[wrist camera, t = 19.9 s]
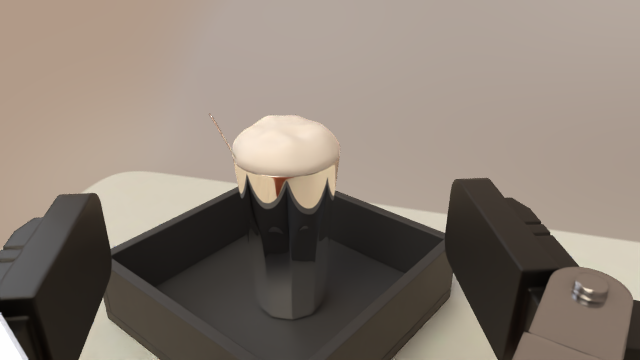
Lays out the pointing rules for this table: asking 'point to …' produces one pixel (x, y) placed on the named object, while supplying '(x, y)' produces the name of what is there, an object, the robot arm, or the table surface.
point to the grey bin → (241, 298)
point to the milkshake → (287, 209)
